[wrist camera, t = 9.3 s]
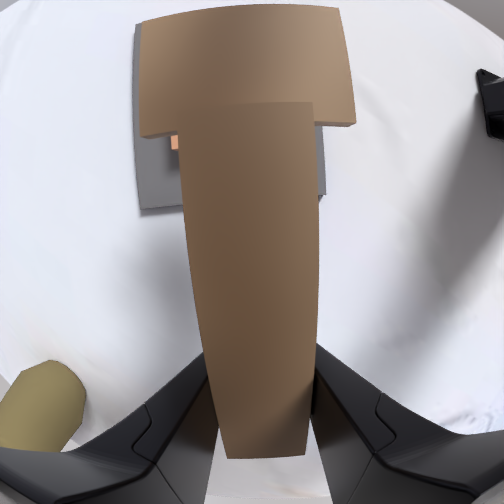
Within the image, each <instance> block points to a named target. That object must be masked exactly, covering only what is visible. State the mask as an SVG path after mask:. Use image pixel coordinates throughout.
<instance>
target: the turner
mask: <svg viewBox="0 0 504 504" xmlns="http://www.w3.org/2000/svg"><path fill="white" fill-rule="evenodd" d="M355 123H356V113H355V103H354V94H353V86H352V79H351V72H350V65H349V59H348V53H347V47H346V41H345V36H344V31H343V26H342V21H341V17H340V12H339V8H334V7H325V6H313V5H297V4H253V5H236V6H225V7H216V8H208V9H201V10H194V11H189V12H183V13H178V14H173V15H168V16H164V17H159V18H155V19H151V20H147V21H144V22H142V27H141V41H140V60H139V130H140V137H142V138H146V139H149V140H150V139H156V138H162V137H168V136H175V135H178V152H179V166H180V179H181V191H182V202H183V212H184V222H185V231H186V240H187V248H188V256H189V264H190V271H191V279H192V286H193V293H194V299H195V306H196V312H197V318H198V324H199V330H200V336H201V342H202V347H203V352H204V358H205V363H206V368H207V373H208V378H209V383H210V388H211V393H212V397H213V402H214V406H215V411H216V415H217V420H218V424H219V428H220V432H221V436H222V440H223V444H224V448H225V452H226V456H227V459H254V458H277V457H290V456H300V455H305V451H306V444H307V436H308V428H309V420H310V411H311V401H312V391H313V380H314V367H315V353H316V337H317V317H318V288H319V204H318V175H317V155H316V139H315V126H337V127H349V126H351V125H353V124H355Z"/></svg>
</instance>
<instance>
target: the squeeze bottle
mask: <svg viewBox="0 0 504 504" xmlns="http://www.w3.org/2000/svg"><path fill="white" fill-rule="evenodd" d="M85 398H86V394H85V389H84V387H83V385H82V383H81V381H80V380H79V379H78V377H77V376H76V375H75V374H74V373H73V372H72V371H71V370H70V369H68V368H67V367H66V366H65V365H63V364H61V363H59V362H57V361H53V360H48V361H46V362H43V363H41V364H38V365H36V366H34V367H31V368H29V369H26V370H24V371H21V373H20V374H19V376H18V377H17V378H16V380H15V381H14V383H13V384H12V386H11V387H10V389H9V390H8V392H7V393H6V395H5V396H4V398H3V399H2V401H1V402H0V447H5V448H12V449H20V450H29V451H42V452H60V451H61V450H62V449H63V447H64V446H65V445H66V443H67V442H68V441H69V439H70V438H71V437H72V435H73V434H74V433H75V432H76V430H77V429H78V428H79V426H80V425H81V424H82V418H83V411H84V404H85Z"/></svg>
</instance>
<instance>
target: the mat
mask: <svg viewBox="0 0 504 504" xmlns="http://www.w3.org/2000/svg"><path fill="white" fill-rule="evenodd" d="M141 27H142V23H139V24H136V27H135V41H134V60H133V125H134V146H135V161H136V174H137V184H138V194H139V203H140V209H148V208H156V207H165V206H174V205H183V202H182V191H181V179H180V166H179V152H178V151H175V150H172V145H171V136H168V137H162V138H156V139H150V140H149V139H146V138H142V137H140V130H139V60H140V41H141ZM315 139H316V155H317V175H318V195H326V178H325V160H324V145H323V132H322V126H315Z"/></svg>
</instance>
